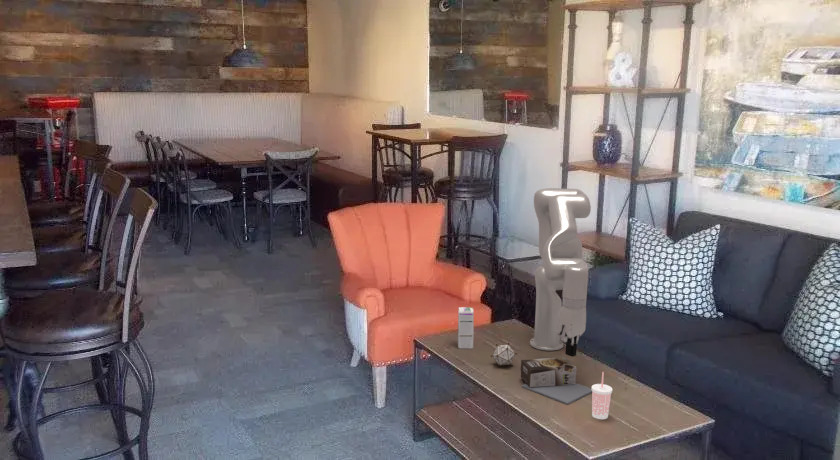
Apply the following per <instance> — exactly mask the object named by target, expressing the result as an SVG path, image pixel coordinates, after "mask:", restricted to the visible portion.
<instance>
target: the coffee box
mask: <svg viewBox="0 0 840 460" xmlns="http://www.w3.org/2000/svg"><path fill="white" fill-rule="evenodd" d="M576 377H577V366H576V365H575V364H574V363H572V361H570V360H569V359H568V358H567V357H566V356H562V357H548V358H547V357H546V358H533V359H521V361H520V378H521V379H522V380H523V382H524V383H525V384H527V385H528V386H529V387H544V386H558V385H573V384H575V383H576V380H577V379H576Z"/></svg>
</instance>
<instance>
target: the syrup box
mask: <svg viewBox="0 0 840 460" xmlns="http://www.w3.org/2000/svg"><path fill="white" fill-rule="evenodd" d="M457 312H458V314H457V317H458V318H457V319H458V320H457V348H458V349H463V350H464V349H469V350H471V349H472V350H473V349H474V331H475V329H474V318H475V317H474V314H475V313H474V307H469V306H468V307H467V306H463V307H462V306H461V307H460V306H459V307H458V311H457Z"/></svg>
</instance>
